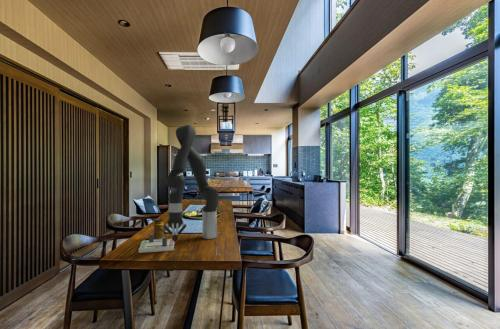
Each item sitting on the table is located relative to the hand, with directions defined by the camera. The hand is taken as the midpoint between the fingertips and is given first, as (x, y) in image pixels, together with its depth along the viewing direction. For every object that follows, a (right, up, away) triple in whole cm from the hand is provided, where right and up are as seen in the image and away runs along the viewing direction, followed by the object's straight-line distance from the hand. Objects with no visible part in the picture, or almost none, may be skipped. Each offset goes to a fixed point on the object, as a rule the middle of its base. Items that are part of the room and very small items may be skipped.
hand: (174, 241), depth 147 cm
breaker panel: (-10, -4, +2) cm, 11 cm away
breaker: (-15, -2, +5) cm, 16 cm away
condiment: (-17, -4, +21) cm, 27 cm away
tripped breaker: (-5, -2, -2) cm, 6 cm away
